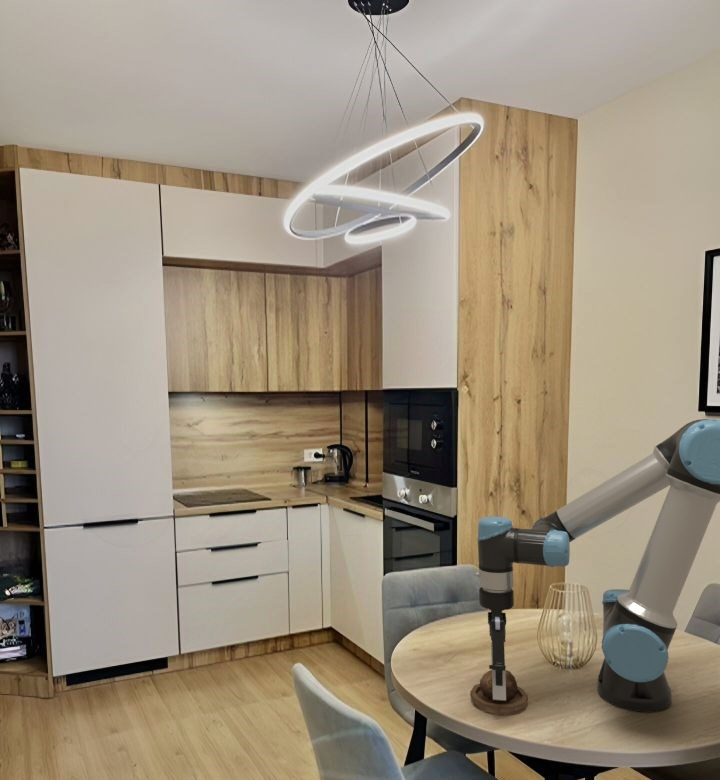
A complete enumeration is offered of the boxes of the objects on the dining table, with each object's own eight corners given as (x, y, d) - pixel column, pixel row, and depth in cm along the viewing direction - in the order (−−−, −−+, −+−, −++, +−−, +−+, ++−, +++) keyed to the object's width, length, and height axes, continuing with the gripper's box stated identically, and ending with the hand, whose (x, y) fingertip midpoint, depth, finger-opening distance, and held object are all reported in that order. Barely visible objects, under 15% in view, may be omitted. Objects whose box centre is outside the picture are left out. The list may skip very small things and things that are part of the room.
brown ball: (493, 670, 140) (494, 655, 136) (523, 692, 135) (525, 677, 131) (472, 695, 135) (473, 681, 132) (503, 719, 130) (504, 705, 127)
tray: (538, 704, 131) (538, 696, 131) (500, 721, 125) (499, 712, 125) (497, 684, 141) (497, 676, 141) (460, 698, 135) (460, 690, 135)
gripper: (479, 572, 147) (481, 660, 146) (478, 605, 122) (481, 711, 122) (510, 573, 145) (513, 662, 144) (516, 606, 121) (519, 714, 120)
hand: (498, 684), depth 133 cm, fingers open, 13 cm apart
